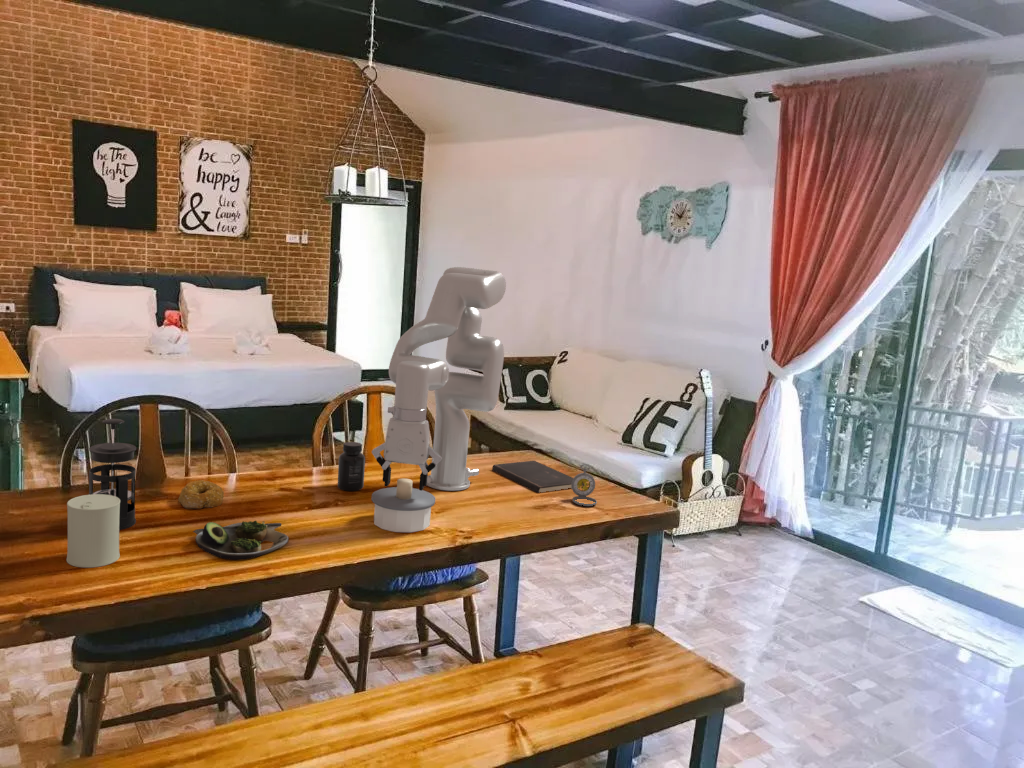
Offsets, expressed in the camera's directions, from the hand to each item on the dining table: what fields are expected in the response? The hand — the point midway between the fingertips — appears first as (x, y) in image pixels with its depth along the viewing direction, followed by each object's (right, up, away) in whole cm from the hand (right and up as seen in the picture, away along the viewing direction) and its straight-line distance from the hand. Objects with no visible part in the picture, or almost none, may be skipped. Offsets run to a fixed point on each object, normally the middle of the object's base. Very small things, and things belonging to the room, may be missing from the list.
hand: (404, 486), depth 192 cm
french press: (-61, -6, -16) cm, 63 cm away
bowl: (-1, -9, +2) cm, 9 cm away
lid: (0, -3, +1) cm, 3 cm away
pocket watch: (+45, -8, +31) cm, 55 cm away
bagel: (-49, -4, +2) cm, 49 cm away
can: (-56, -10, -34) cm, 66 cm away
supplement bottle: (-17, -4, +24) cm, 30 cm away
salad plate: (-32, -10, -20) cm, 39 cm away
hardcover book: (+32, -5, +49) cm, 59 cm away
